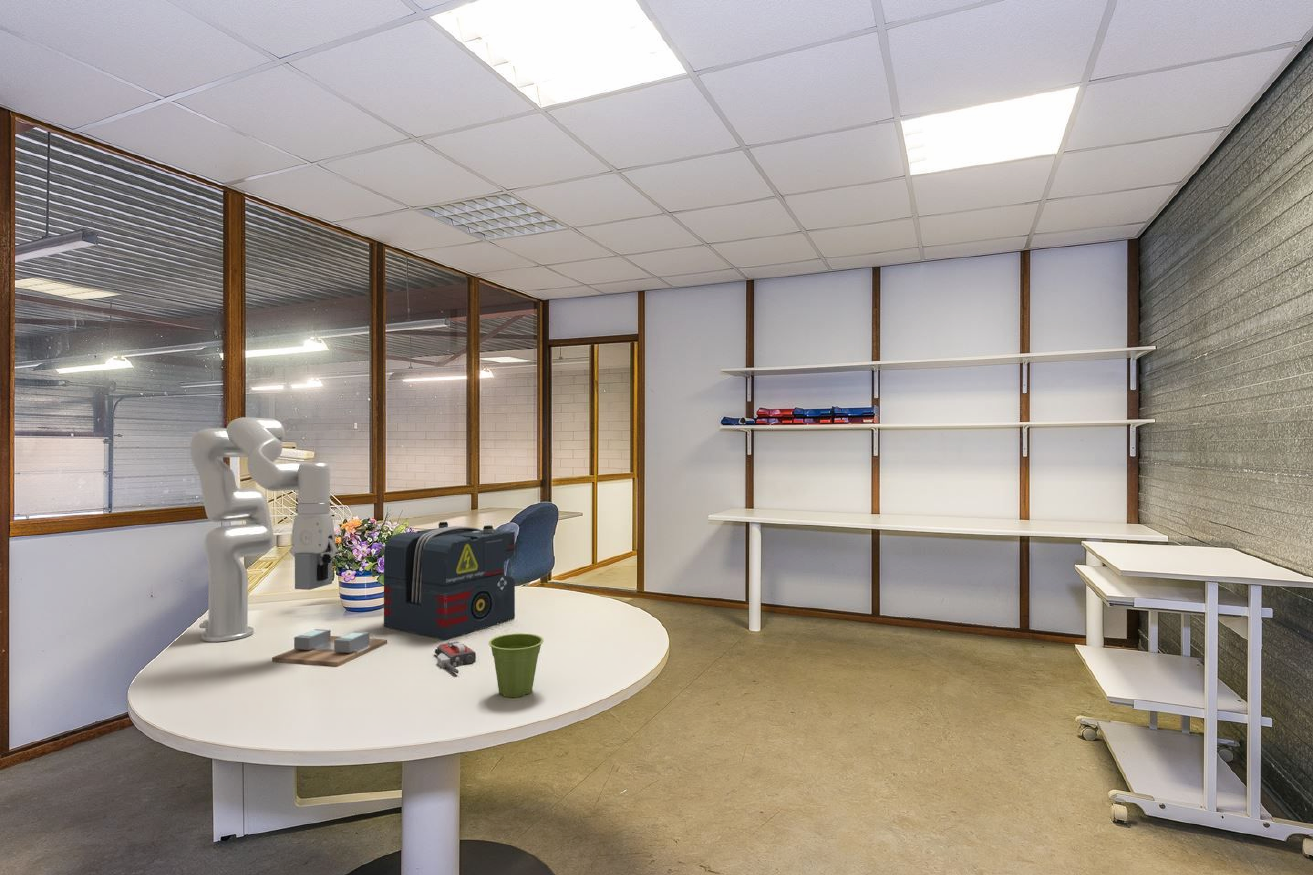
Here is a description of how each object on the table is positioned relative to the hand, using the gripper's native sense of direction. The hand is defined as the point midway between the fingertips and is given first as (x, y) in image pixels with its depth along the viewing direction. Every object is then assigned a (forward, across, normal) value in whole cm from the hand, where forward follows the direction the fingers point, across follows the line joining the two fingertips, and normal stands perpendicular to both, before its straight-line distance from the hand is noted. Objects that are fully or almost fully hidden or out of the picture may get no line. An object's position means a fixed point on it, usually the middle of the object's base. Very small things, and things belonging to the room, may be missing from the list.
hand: (314, 578), depth 173 cm
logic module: (+2, 0, 0) cm, 2 cm away
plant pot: (+21, +63, -12) cm, 68 cm away
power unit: (+20, +18, +37) cm, 46 cm away
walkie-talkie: (+21, +40, +3) cm, 45 cm away
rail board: (+20, +3, +3) cm, 20 cm away
